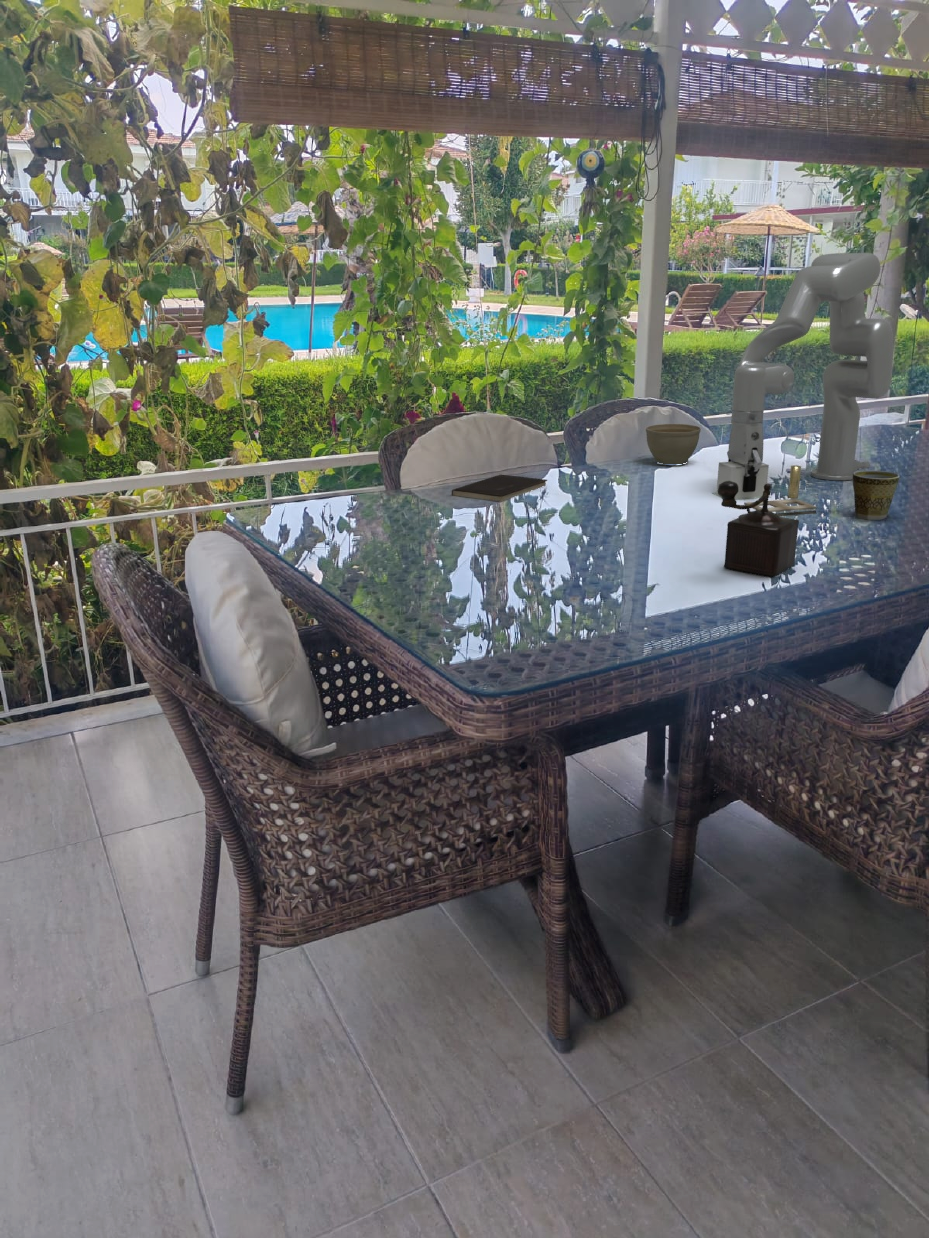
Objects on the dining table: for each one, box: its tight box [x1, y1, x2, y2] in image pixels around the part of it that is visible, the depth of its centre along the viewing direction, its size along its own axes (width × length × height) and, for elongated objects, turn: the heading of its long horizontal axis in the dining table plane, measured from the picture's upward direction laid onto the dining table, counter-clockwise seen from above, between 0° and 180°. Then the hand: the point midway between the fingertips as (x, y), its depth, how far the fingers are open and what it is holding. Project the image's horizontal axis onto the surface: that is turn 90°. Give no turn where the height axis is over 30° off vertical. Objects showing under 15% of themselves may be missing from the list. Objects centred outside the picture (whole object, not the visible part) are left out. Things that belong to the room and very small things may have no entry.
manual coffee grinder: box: [718, 481, 800, 578], centre depth 180 cm, size 16×11×18 cm
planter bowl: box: [645, 423, 702, 464], centre depth 285 cm, size 16×16×11 cm
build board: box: [743, 498, 817, 517], centre depth 227 cm, size 14×9×2 cm, turn 102°
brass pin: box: [787, 464, 802, 499], centre depth 234 cm, size 2×2×9 cm
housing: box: [716, 461, 770, 499], centre depth 237 cm, size 10×7×8 cm
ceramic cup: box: [852, 469, 900, 521], centre depth 220 cm, size 13×10×10 cm
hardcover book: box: [451, 474, 548, 503], centre depth 256 cm, size 16×23×2 cm
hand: (741, 488), depth 238 cm, fingers closed on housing, 7 cm apart
